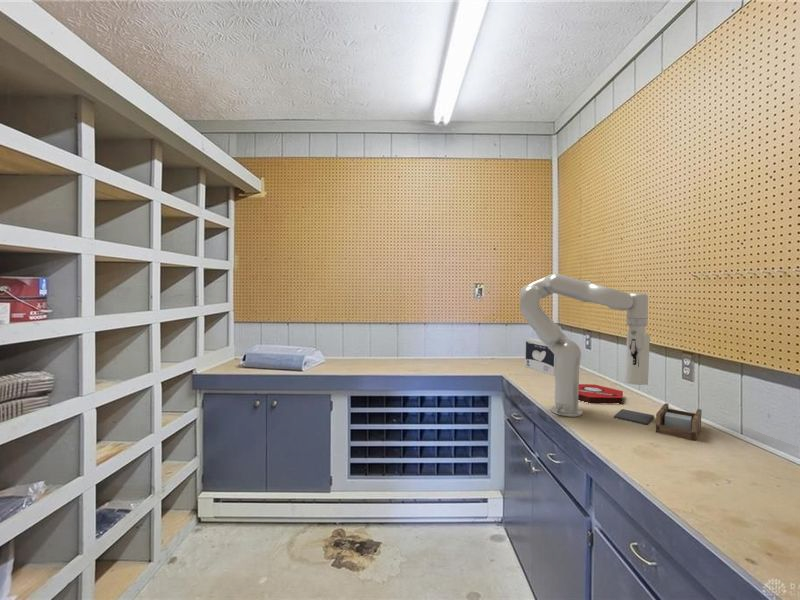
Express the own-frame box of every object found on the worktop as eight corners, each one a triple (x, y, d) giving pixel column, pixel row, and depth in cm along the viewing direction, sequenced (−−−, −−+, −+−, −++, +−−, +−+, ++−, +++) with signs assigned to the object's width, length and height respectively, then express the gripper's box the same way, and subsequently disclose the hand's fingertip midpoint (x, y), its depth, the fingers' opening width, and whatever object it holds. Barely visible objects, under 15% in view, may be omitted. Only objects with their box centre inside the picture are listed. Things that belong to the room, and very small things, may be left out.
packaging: (524, 366, 272) (525, 338, 271) (531, 366, 274) (532, 338, 273) (554, 375, 243) (555, 344, 243) (562, 375, 245) (563, 344, 244)
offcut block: (690, 436, 143) (690, 420, 142) (664, 431, 148) (664, 415, 148) (691, 432, 147) (691, 416, 147) (666, 427, 152) (666, 412, 152)
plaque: (622, 409, 176) (622, 394, 202) (622, 401, 176) (622, 387, 202) (559, 400, 189) (567, 387, 215) (559, 393, 189) (567, 381, 215)
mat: (647, 425, 154) (647, 423, 154) (613, 417, 162) (613, 416, 162) (653, 417, 164) (653, 415, 164) (622, 410, 172) (622, 408, 172)
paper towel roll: (621, 382, 165) (623, 332, 164) (632, 381, 167) (633, 332, 166) (637, 386, 158) (639, 334, 157) (647, 385, 160) (649, 334, 160)
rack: (695, 440, 138) (696, 421, 138) (655, 432, 146) (656, 413, 146) (700, 427, 153) (701, 409, 152) (664, 419, 161) (665, 403, 160)
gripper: (643, 324, 153) (641, 369, 154) (651, 322, 166) (649, 364, 166) (621, 322, 159) (620, 367, 159) (631, 320, 171) (630, 362, 171)
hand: (635, 365), depth 162 cm, fingers closed on paper towel roll, 3 cm apart
